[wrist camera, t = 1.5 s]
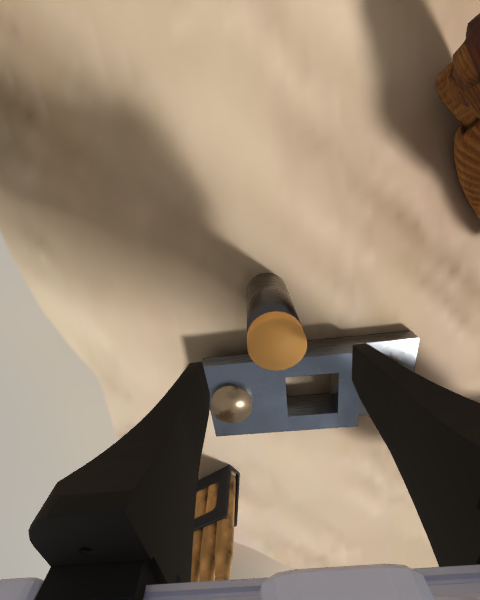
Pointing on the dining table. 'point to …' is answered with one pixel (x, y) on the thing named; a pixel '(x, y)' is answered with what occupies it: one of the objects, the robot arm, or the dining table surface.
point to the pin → (273, 324)
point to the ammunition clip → (215, 525)
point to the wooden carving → (465, 110)
